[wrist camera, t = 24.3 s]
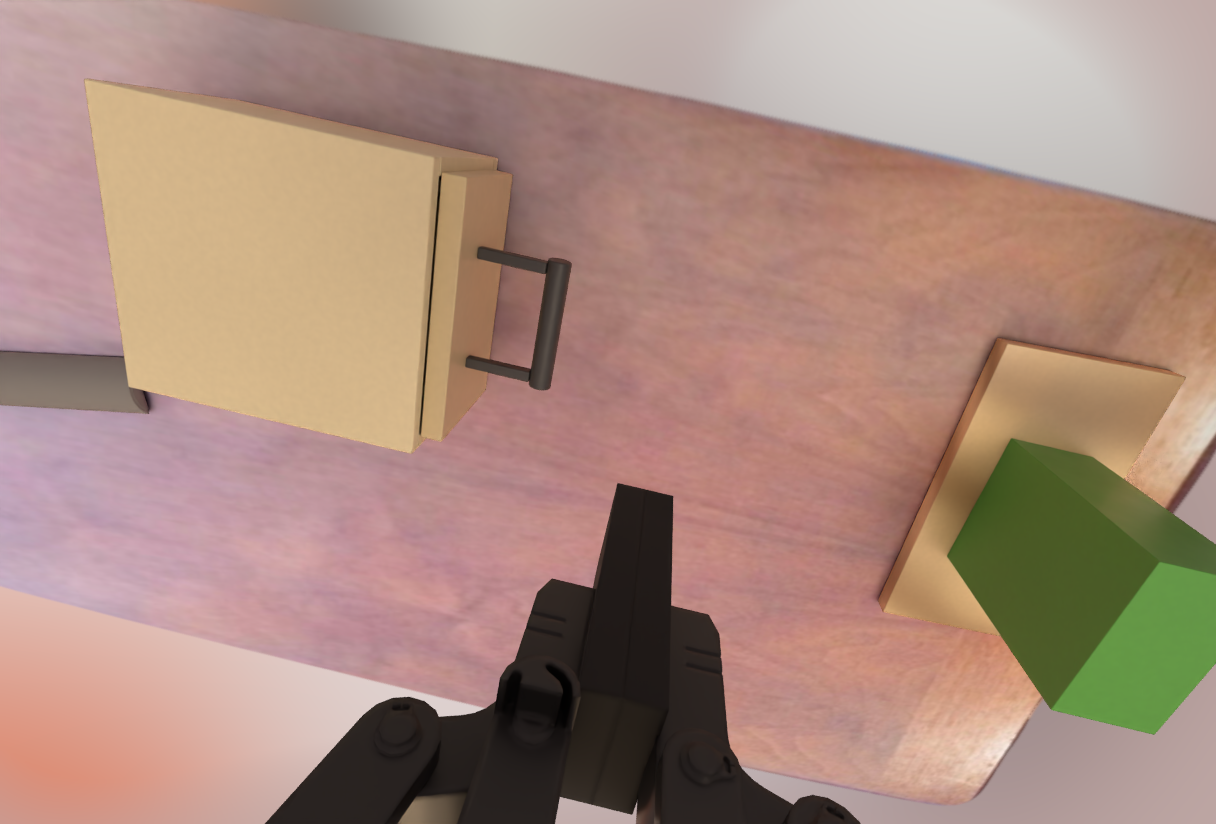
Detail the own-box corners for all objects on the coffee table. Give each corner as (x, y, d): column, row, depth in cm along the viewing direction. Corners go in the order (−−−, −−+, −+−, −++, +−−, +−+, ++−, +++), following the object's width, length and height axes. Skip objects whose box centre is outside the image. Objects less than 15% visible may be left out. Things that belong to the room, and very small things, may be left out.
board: (997, 337, 34) (1007, 343, 33) (1170, 370, 34) (1186, 377, 33) (877, 600, 42) (882, 612, 41) (1016, 629, 42) (1025, 642, 41)
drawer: (596, 192, 33) (573, 201, 26) (557, 407, 38) (529, 463, 31) (265, 118, 33) (152, 106, 26) (273, 340, 39) (181, 381, 32)
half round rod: (160, 412, 43) (140, 422, 41) (-73, 399, 45) (-102, 408, 43) (143, 357, 41) (121, 365, 40) (-99, 345, 43) (-130, 353, 42)
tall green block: (1093, 456, 35) (1280, 589, 24) (1020, 573, 39) (1154, 735, 28) (1010, 437, 35) (1160, 561, 24) (946, 556, 39) (1050, 710, 28)
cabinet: (498, 158, 34) (434, 156, 25) (471, 389, 39) (412, 454, 31) (237, 99, 34) (82, 77, 25) (249, 337, 40) (127, 387, 31)
